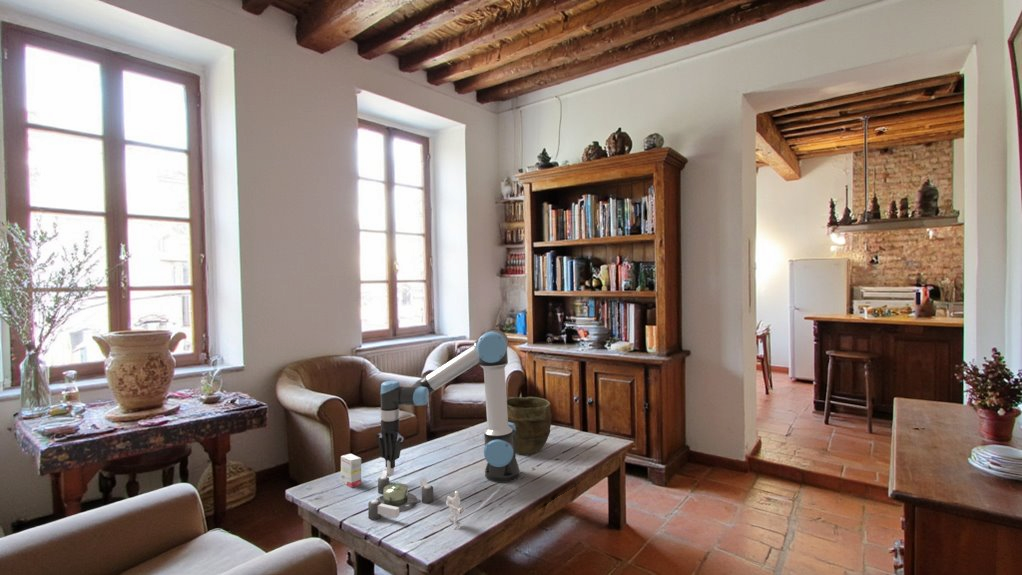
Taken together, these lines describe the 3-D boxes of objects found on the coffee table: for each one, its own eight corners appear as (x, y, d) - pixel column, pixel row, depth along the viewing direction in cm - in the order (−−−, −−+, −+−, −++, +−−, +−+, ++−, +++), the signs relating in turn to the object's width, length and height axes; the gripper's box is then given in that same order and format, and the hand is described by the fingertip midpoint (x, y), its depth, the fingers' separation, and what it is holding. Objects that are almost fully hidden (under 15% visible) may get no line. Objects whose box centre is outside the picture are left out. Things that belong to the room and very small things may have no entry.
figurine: (449, 519, 171) (449, 486, 171) (469, 526, 166) (469, 492, 166) (440, 525, 167) (440, 491, 167) (461, 532, 162) (461, 497, 162)
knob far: (389, 493, 191) (389, 479, 191) (377, 494, 190) (377, 480, 190) (390, 480, 203) (390, 467, 203) (379, 481, 202) (379, 468, 202)
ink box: (362, 485, 200) (361, 457, 199) (351, 489, 196) (351, 460, 196) (351, 480, 205) (350, 452, 205) (340, 483, 202) (340, 455, 201)
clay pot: (560, 447, 245) (560, 399, 245) (535, 463, 224) (535, 410, 223) (517, 439, 259) (517, 392, 258) (491, 453, 237) (491, 402, 237)
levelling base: (436, 501, 186) (436, 483, 186) (400, 529, 164) (400, 509, 164) (382, 489, 196) (382, 472, 196) (341, 514, 175) (341, 496, 175)
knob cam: (365, 518, 171) (365, 502, 171) (373, 512, 175) (373, 497, 175) (393, 525, 166) (393, 509, 166) (401, 519, 170) (401, 503, 170)
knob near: (434, 502, 183) (434, 487, 183) (422, 504, 181) (422, 489, 181) (428, 489, 194) (428, 475, 194) (417, 491, 193) (417, 477, 193)
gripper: (408, 418, 200) (408, 474, 201) (383, 414, 205) (383, 469, 206) (397, 423, 193) (397, 481, 194) (371, 419, 199) (371, 476, 199)
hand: (390, 475), depth 200 cm, fingers closed
